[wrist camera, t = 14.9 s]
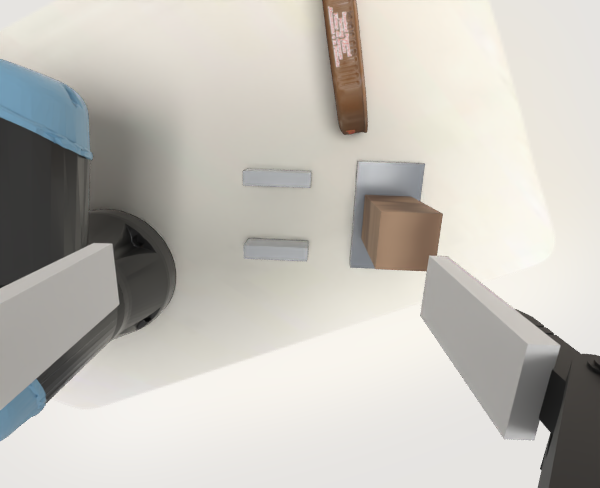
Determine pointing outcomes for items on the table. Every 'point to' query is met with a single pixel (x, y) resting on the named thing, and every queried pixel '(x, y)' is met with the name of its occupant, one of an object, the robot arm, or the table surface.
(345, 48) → the tin
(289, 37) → the table surface
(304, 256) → the cradle
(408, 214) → the walnut block
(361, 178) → the slate plate
